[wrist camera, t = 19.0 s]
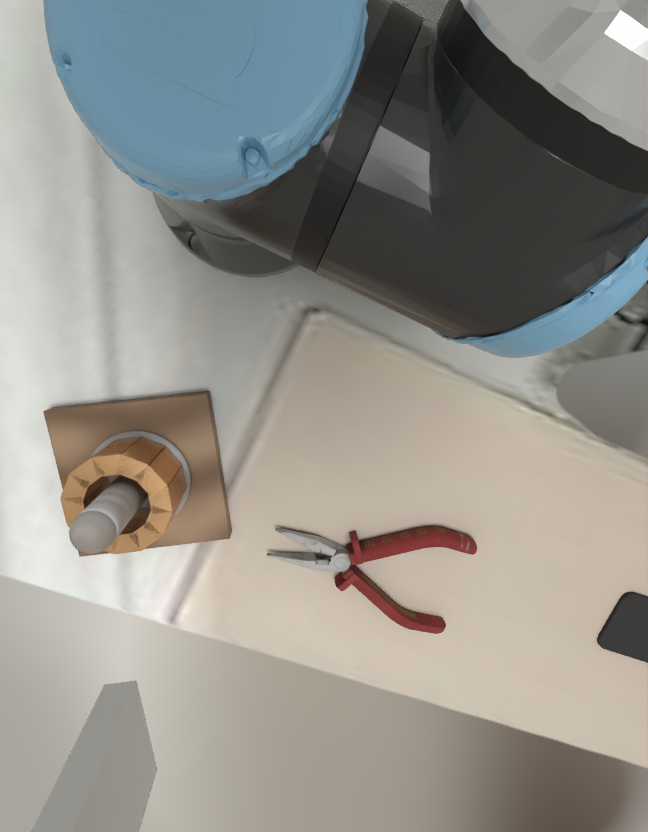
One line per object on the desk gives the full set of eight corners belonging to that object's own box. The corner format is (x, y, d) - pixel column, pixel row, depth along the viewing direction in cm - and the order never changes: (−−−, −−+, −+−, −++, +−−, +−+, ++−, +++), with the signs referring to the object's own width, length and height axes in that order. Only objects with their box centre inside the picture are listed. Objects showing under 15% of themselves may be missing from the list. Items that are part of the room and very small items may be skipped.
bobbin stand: (52, 407, 40) (-57, 452, 28) (209, 391, 41) (173, 427, 28) (86, 548, 44) (3, 645, 31) (231, 530, 44) (208, 619, 32)
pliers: (287, 483, 44) (286, 494, 42) (474, 532, 47) (485, 544, 44) (256, 584, 46) (254, 600, 44) (436, 624, 49) (444, 642, 47)
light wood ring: (81, 442, 39) (51, 461, 34) (176, 432, 39) (160, 449, 34) (101, 528, 41) (75, 558, 36) (192, 518, 41) (179, 546, 36)
